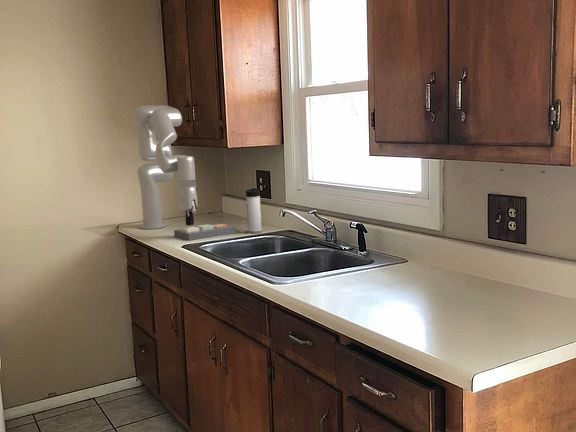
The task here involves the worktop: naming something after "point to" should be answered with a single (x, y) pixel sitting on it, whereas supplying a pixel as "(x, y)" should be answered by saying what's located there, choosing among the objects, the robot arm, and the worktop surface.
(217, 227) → the terracotta key
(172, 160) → the robot arm
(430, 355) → the worktop surface
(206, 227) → the sage key
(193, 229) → the cream key
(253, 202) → the travel mug
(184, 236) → the keypad console
